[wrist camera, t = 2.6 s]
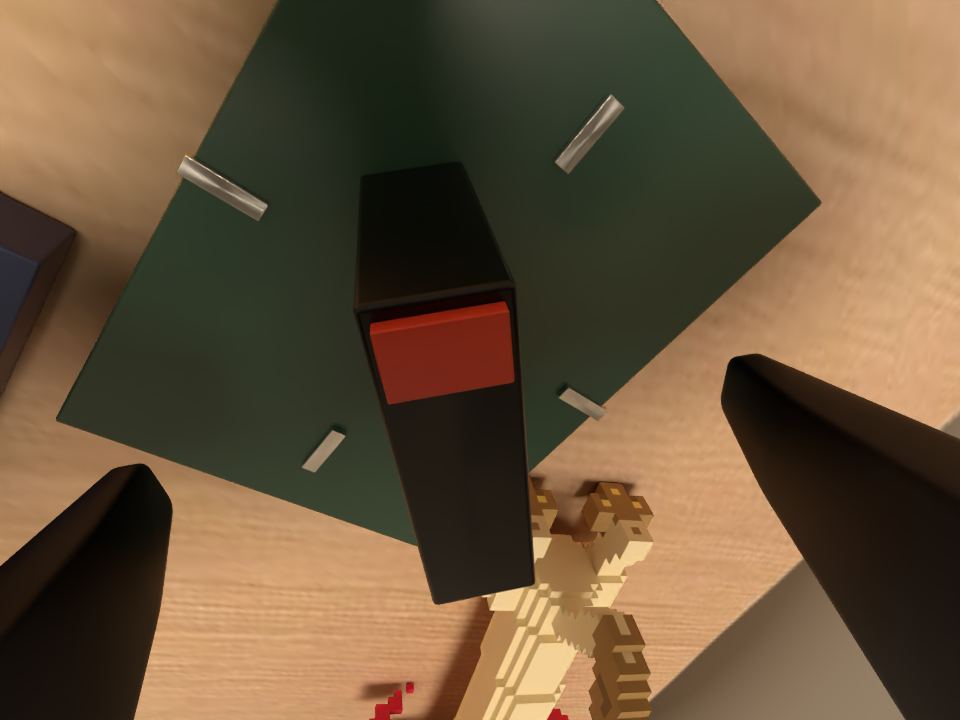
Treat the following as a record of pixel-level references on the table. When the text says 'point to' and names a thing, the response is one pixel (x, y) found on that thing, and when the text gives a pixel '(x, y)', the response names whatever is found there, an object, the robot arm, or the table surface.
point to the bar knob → (447, 375)
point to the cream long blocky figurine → (564, 620)
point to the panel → (504, 198)
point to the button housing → (25, 274)
